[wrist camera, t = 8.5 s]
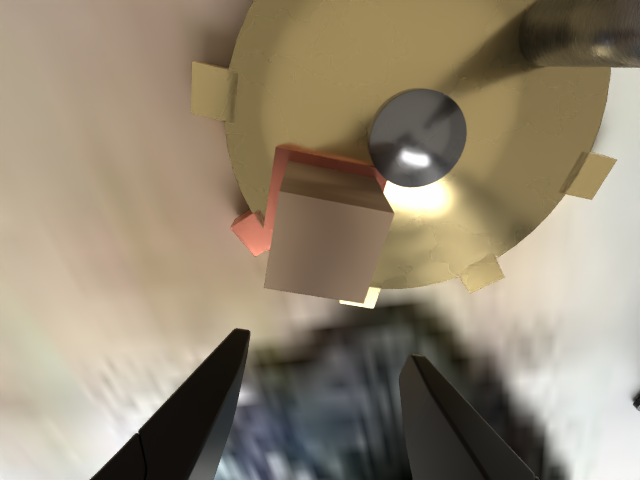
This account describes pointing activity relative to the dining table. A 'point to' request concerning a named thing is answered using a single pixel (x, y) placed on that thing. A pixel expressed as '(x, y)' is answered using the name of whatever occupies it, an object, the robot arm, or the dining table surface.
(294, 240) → the block
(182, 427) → the robot arm
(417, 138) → the sprocket
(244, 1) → the dining table surface
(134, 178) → the dining table surface
